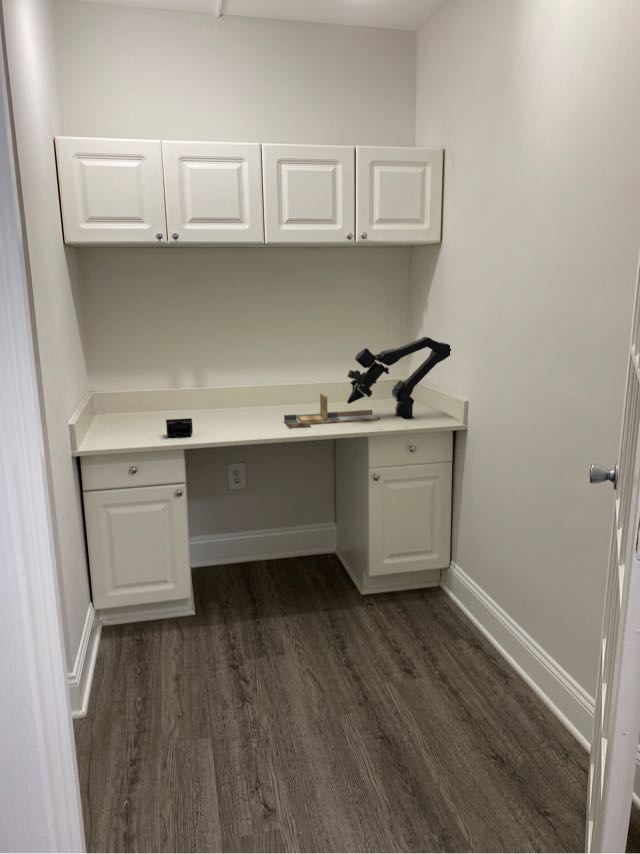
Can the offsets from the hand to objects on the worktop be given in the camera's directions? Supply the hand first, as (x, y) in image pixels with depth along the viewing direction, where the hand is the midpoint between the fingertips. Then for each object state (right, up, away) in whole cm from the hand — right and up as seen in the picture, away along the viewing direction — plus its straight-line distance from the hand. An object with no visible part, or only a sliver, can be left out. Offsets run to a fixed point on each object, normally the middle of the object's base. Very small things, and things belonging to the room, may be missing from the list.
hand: (347, 403), depth 282 cm
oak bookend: (-15, -8, -2) cm, 17 cm away
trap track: (-7, -8, 0) cm, 11 cm away
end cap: (-67, -14, -19) cm, 71 cm away
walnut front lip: (-6, -9, -5) cm, 12 cm away
